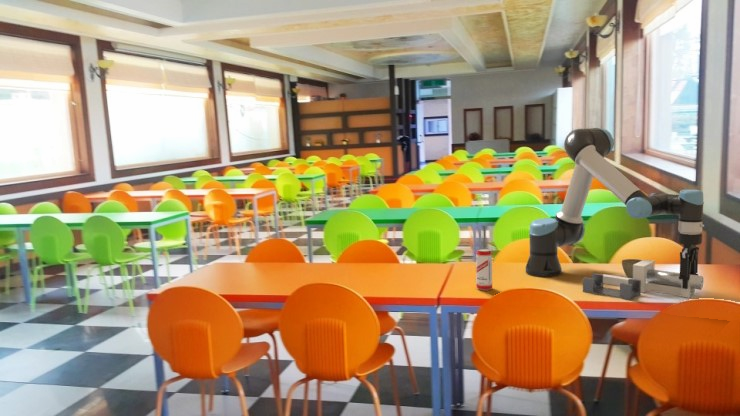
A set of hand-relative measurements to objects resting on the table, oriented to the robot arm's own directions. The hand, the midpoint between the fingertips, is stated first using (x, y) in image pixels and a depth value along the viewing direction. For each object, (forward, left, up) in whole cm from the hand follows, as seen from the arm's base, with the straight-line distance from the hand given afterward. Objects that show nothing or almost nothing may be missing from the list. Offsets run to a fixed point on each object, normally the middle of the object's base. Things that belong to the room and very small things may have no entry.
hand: (688, 295), depth 205 cm
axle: (-5, 0, +5) cm, 7 cm away
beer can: (-63, -37, -1) cm, 73 cm away
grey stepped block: (-16, 0, 0) cm, 16 cm away
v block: (-23, -13, 0) cm, 26 cm away
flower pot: (-24, +14, -1) cm, 28 cm away
